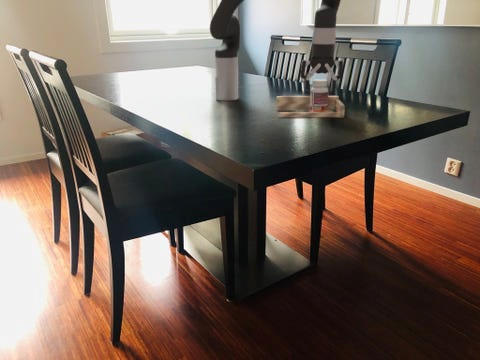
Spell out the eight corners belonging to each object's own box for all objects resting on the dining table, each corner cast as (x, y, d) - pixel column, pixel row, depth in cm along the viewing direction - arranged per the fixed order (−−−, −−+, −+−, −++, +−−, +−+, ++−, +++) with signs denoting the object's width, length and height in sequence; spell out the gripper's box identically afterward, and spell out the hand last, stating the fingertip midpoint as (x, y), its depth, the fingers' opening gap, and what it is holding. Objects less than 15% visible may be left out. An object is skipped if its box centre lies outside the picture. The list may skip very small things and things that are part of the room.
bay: (277, 117, 135) (278, 103, 133) (276, 109, 147) (276, 96, 145) (343, 117, 134) (345, 103, 132) (336, 109, 146) (338, 95, 144)
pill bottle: (330, 112, 139) (332, 80, 135) (318, 115, 136) (320, 82, 132) (318, 109, 144) (320, 78, 140) (305, 112, 141) (307, 80, 137)
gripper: (303, 43, 128) (300, 92, 134) (347, 43, 127) (342, 93, 134) (301, 41, 135) (298, 89, 141) (342, 41, 134) (338, 89, 141)
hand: (319, 90), depth 137 cm, fingers open, 8 cm apart
